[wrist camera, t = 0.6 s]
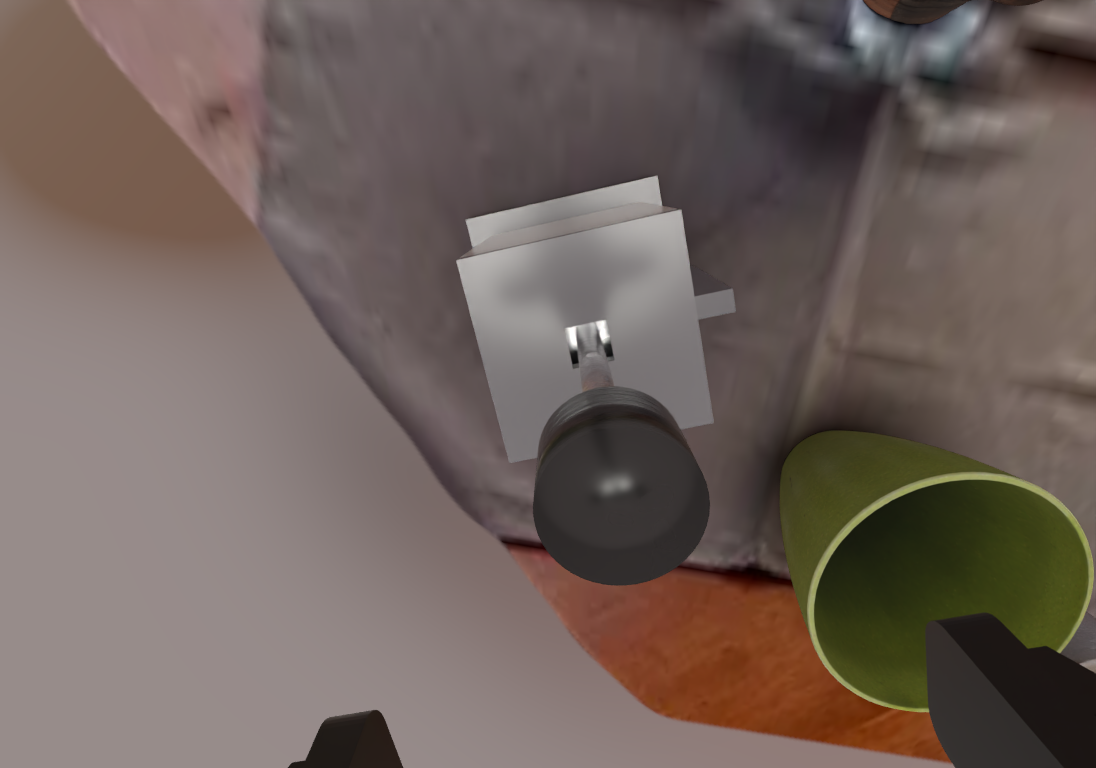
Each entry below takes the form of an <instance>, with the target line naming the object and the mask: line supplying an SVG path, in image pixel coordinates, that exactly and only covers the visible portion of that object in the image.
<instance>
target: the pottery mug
mask: <svg viewBox="0 0 1096 768" xmlns="http://www.w3.org/2000/svg"><path fill="white" fill-rule="evenodd" d="M863 1H864V2H865V3H866V4H867V5H868V6H869V7H870V8H871V9H872V10H874V11H875V12H877V13H878V14H880V15H883V16H885V17H887V18H890V19H891V20H894V21H898V22H903V23H905V24H923V23H929V22H932V21H934V20H936V19H938V18H940V17H942V16H944V15H946V14H947V13H949V12H950V11H952V10H954V9H956V8H958V7H959V6H961V5H963V4H965V3H966V2H968V1H971V0H863ZM992 1H995V2H998V3H1002V4H1006V5H1014V6H1023V5H1030V4H1034V3H1037V2H1040V1H1042V0H992Z"/></svg>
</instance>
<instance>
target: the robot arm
mask: <svg viewBox="0 0 1096 768" xmlns="http://www.w3.org/2000/svg"><path fill="white" fill-rule="evenodd" d="M925 639H926V665H927V691H928V707H929V713H930V717H931V720H932V724H933V727H934V729H935V732H936V734H937V737H938V739H939V741H940V743H941V745H942V747H943V749H944V751H945V752H946V754H947V756H948V757H949V759H950V760H951V762H952V763H953V765H954V766H955V768H1096V673H1094V672H1093V671H1091V670H1089V669H1087V668H1085V667H1084V666H1082V665H1080V664H1078V663H1076V662H1075V661H1073V660H1071V659H1069V658H1067V657H1066V656H1064V655H1062V654H1060V653H1058V652H1057V651H1055V650H1053V649H1051V648H1050V647H1048V646H1042V647H1035V648H1029V649H1028V648H1027V647H1026V646H1025V645H1024V644H1023V643H1022V642H1021V641H1020V640H1019V639H1018V638H1017V637H1016V636H1015V635H1014V634H1013V633H1012V632H1011V631H1010V630H1009V629H1008V628H1007V627H1006V626H1005V625H1004V624H1003V623H1002V622H1001V621H1000V620H998V619H997V618H996V617H995V616H993V615H992V614H989V613H985V612H984V613H977V614H971V615H965V616H959V617H953V618H947V619H941V620H935V621H930V622H928V623H927V626H926V630H925ZM288 768H403V766H402V763H401V761H400V758H399V756H398V753H397V750H396V748H395V745H394V742H393V740H392V737H391V735H390V732H389V729H388V727H387V724H386V721H385V719H384V717H383V715H382V714H381V713H380V712H379V711H378V710H372V711H366V712H359V713H354V714H347V715H342V716H335V717H330V718H327V719H326V720H325V721H324V722H323V723H322V725H321V727H320V729H319V731H318V733H317V735H316V738H315V740H314V742H313V744H312V747H311V750H310V751H309V754H308V756H307V758H306V761H300V762H294V763H291V764H290V766H289V767H288Z"/></svg>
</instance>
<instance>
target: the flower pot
mask: <svg viewBox="0 0 1096 768" xmlns="http://www.w3.org/2000/svg"><path fill="white" fill-rule="evenodd" d="M780 518H781V529H782V537H783V543H784V548H785V554H786V559H787V563H788V568H789V572H790V576H791V580H792V583H793V587H794V590H795V593H796V597H797V600H798V603H799V606H800V609H801V612H802V615H803V618H804V621H805V623H806V626H807V629H808V632H809V634H810V637H811V640H812V642H813V645H814V648H815V650H816V652H817V654H818V656H819V658H820V659H821V661H822V663H823V664H824V666H825V667H826V668H827V669H828V671H829V672H830V673H831V674H832V675H833V676H834V677H835V678H836V679H837V680H838V681H839V682H840V683H841V684H842V685H844V686H845V687H846V688H848V689H849V690H851V691H852V692H854V693H855V694H857V695H859V696H861V697H862V698H864V699H867V700H869V701H871V702H874V703H876V704H879V705H882V706H885V707H889V708H894V709H899V710H905V711H915V712H929V707H928V691H927V665H926V639H925V630H926V626H927V623H928V622H930V621H935V620H941V619H947V618H953V617H959V616H965V615H971V614H977V613H984V612H985V613H989V614H992V615H993V616H995V617H996V618H997V619H998V620H1000V621H1001V622H1002V623H1003V624H1004V625H1005V626H1006V627H1007V628H1008V629H1009V630H1010V631H1011V632H1012V633H1013V634H1014V635H1015V636H1016V637H1017V638H1018V639H1019V640H1020V641H1021V642H1022V643H1023V644H1024V645H1025V646H1026V647H1027V648H1028V649H1029V648H1035V647H1042V646H1048V647H1050V648H1051V649H1053V650H1055V651H1057V652H1058V653H1061V651H1062V650H1063V649H1064V648H1065V647H1066V645H1067V644H1068V643H1069V641H1070V640H1071V639H1072V637H1073V636H1074V634H1075V632H1076V631H1077V629H1078V627H1079V625H1080V624H1081V622H1082V620H1083V618H1084V615H1085V613H1086V609H1087V607H1088V604H1089V601H1090V598H1091V593H1092V588H1093V580H1094V568H1093V559H1092V554H1091V550H1090V547H1089V543H1088V541H1087V538H1086V536H1085V534H1084V532H1083V530H1082V528H1081V526H1080V525H1079V523H1078V521H1077V519H1076V518H1075V517H1074V516H1073V514H1072V513H1071V512H1070V511H1069V510H1068V509H1067V508H1066V507H1065V506H1064V504H1063V503H1062V502H1061V501H1060V500H1058V499H1057V498H1056V497H1054V496H1053V495H1052V494H1050V493H1049V492H1047V491H1045V490H1044V489H1042V488H1040V487H1038V486H1036V485H1034V484H1032V483H1030V482H1027V481H1025V480H1023V479H1020V478H1018V477H1016V476H1013V475H1011V474H1009V473H1006V472H1004V471H1001V470H999V469H996V468H994V467H991V466H989V465H986V464H984V463H981V462H979V461H976V460H973V459H971V458H968V457H965V456H962V455H959V454H956V453H953V452H950V451H947V450H944V449H941V448H938V447H934V446H930V445H926V444H923V443H919V442H915V441H911V440H906V439H902V438H898V437H893V436H887V435H881V434H875V433H867V432H858V431H837V430H834V431H825V432H820V433H817V434H814V435H812V436H810V437H808V438H806V439H804V440H803V441H802V442H800V443H799V444H798V445H797V446H795V447H794V448H793V450H792V451H791V452H790V453H789V455H788V456H787V458H786V460H785V462H784V465H783V467H782V472H781V478H780Z"/></svg>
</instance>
